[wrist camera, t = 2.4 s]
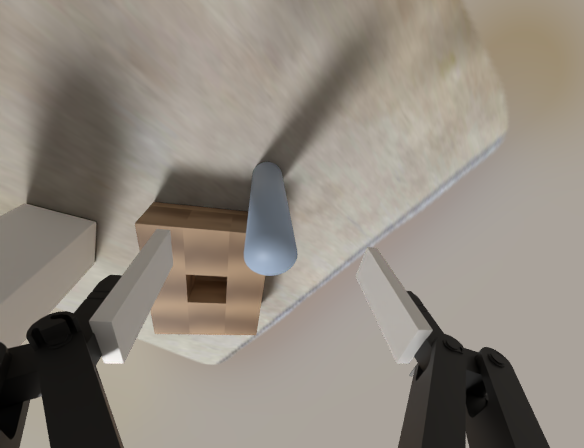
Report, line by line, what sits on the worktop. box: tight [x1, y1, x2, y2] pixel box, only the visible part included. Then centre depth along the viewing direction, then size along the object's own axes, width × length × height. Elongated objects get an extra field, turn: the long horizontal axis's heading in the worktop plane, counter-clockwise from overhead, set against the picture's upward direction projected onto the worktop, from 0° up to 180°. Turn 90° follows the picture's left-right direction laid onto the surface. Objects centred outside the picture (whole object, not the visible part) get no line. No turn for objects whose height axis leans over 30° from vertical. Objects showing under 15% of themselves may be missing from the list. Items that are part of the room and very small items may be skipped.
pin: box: [244, 162, 297, 276], centre depth 22 cm, size 4×4×15 cm
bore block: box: [135, 202, 265, 335], centre depth 32 cm, size 18×14×5 cm
